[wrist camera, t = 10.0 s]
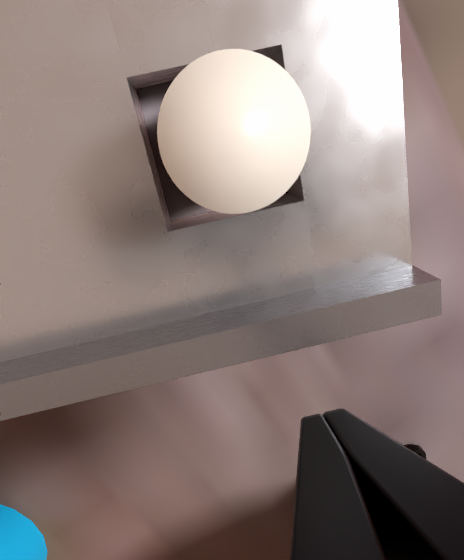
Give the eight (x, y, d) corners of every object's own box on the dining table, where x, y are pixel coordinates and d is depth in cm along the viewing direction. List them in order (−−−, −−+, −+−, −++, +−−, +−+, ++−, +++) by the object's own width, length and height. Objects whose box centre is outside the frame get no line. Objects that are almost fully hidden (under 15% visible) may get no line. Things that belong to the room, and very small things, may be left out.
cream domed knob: (269, 179, 17) (319, 196, 11) (182, 199, 17) (178, 228, 11) (253, 82, 16) (298, 33, 9) (159, 102, 16) (137, 67, 9)
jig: (386, 279, 19) (441, 314, 15) (-8, 372, 19) (-66, 437, 15) (354, -122, 14) (425, -239, 10) (-194, -12, 14) (-369, -88, 9)
